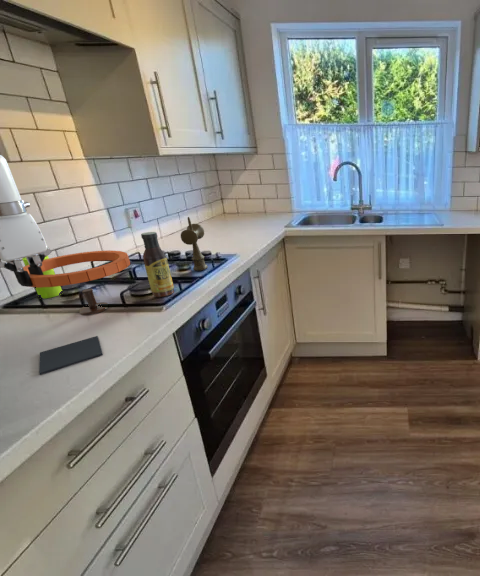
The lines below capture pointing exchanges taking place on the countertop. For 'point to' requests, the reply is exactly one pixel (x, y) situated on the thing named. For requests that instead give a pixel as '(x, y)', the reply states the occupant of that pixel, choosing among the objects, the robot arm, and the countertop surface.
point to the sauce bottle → (156, 266)
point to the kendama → (194, 244)
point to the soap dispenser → (46, 291)
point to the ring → (116, 266)
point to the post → (91, 304)
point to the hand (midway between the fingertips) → (33, 283)
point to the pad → (69, 354)
